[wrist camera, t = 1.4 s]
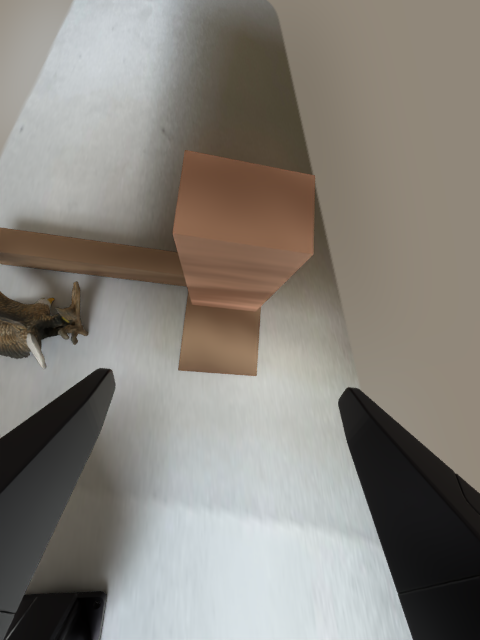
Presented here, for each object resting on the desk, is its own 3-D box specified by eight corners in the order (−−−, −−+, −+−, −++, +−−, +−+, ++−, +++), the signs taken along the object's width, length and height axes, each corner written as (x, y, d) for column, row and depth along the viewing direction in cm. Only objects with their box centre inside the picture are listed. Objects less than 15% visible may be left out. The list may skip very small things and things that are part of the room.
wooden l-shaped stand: (254, 375, 21) (322, 398, 9) (-25, 354, 18) (-541, 345, 6) (260, 276, 23) (324, 177, 11) (8, 243, 20) (-327, 49, 8)
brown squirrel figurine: (97, 270, 20) (-34, 246, 17) (58, 295, 14) (-157, 263, 11) (96, 343, 23) (-18, 332, 20) (62, 391, 17) (-110, 385, 14)
